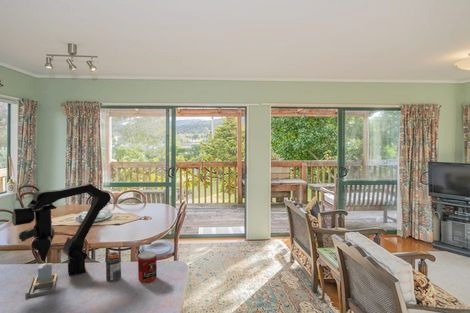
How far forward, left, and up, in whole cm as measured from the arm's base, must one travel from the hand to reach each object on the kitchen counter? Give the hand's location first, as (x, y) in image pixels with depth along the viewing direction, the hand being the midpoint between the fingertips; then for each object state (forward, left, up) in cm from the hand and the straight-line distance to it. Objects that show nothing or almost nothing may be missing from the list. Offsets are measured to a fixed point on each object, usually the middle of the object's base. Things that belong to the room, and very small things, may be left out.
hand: (44, 256), depth 123 cm
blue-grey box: (0, 0, -11) cm, 11 cm away
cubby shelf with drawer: (0, +4, -11) cm, 12 cm away
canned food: (-39, +18, -11) cm, 44 cm away
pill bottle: (-26, +11, -11) cm, 30 cm away
